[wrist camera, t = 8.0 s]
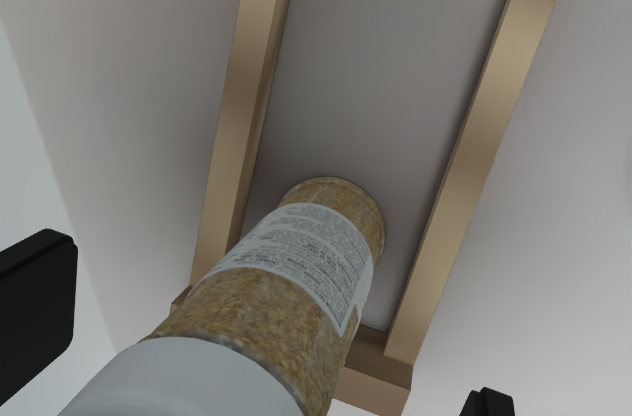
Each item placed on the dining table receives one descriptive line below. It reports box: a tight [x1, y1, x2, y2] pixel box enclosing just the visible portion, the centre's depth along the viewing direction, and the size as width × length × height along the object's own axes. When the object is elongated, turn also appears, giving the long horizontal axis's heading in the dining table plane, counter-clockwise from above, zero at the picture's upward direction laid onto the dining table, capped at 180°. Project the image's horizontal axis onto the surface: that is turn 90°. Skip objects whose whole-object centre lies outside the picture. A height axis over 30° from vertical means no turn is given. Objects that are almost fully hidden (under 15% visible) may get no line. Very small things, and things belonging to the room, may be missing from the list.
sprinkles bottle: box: [58, 177, 386, 416], centre depth 14 cm, size 5×5×13 cm
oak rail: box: [169, 0, 556, 416], centre depth 17 cm, size 21×9×3 cm, turn 166°
